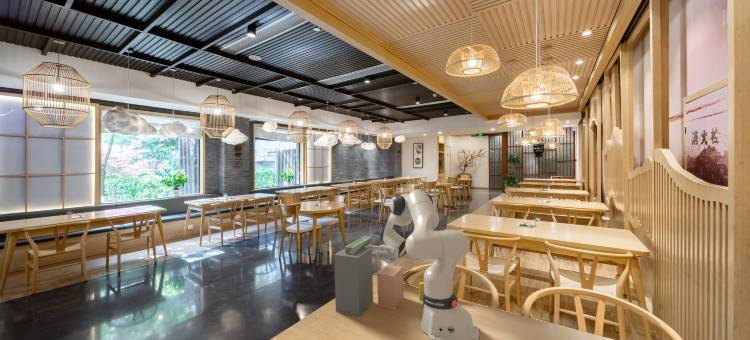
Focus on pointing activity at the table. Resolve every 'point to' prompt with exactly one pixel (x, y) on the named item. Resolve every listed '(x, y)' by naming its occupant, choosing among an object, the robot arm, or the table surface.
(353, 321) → the table surface
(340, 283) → the tall grey pillar
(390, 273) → the terracotta block
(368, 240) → the sage bar
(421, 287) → the candy box
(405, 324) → the table surface
